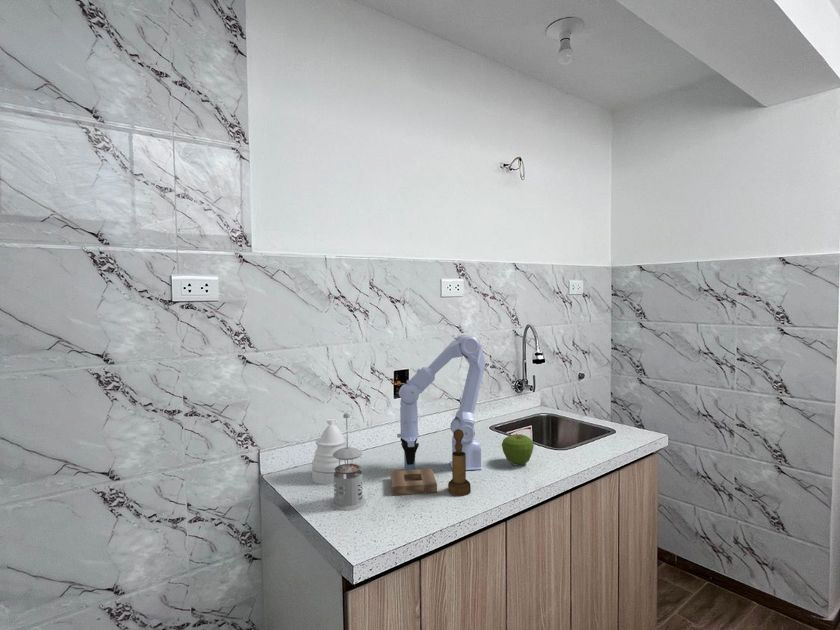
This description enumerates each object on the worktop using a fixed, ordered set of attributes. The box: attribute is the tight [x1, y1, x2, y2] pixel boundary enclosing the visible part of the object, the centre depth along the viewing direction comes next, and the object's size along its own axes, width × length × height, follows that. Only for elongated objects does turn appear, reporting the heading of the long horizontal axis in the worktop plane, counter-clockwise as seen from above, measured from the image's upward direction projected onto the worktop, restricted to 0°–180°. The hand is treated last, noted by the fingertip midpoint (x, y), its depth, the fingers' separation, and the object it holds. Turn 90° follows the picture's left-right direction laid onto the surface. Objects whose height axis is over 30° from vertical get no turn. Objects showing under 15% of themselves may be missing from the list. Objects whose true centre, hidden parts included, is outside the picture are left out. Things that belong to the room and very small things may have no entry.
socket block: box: [390, 468, 438, 496], centre depth 131 cm, size 13×12×2 cm
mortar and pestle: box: [447, 429, 472, 497], centre depth 126 cm, size 7×6×18 cm
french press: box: [330, 412, 367, 512], centre depth 121 cm, size 10×12×25 cm
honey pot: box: [311, 418, 354, 486], centre depth 139 cm, size 13×13×18 cm
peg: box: [403, 451, 416, 470], centre depth 143 cm, size 4×4×8 cm
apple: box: [501, 434, 535, 466], centre depth 147 cm, size 11×10×10 cm
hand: (409, 461), depth 143 cm, fingers closed on peg, 4 cm apart
